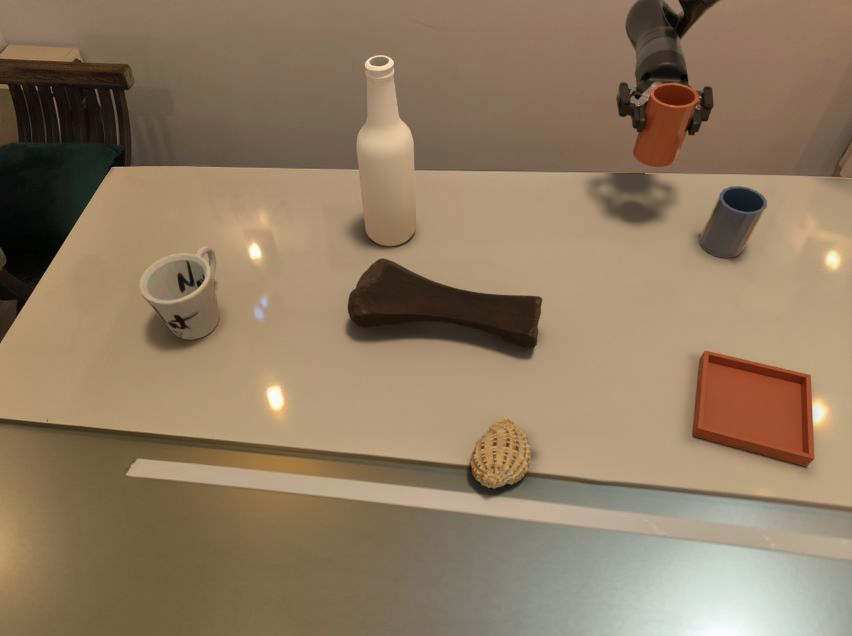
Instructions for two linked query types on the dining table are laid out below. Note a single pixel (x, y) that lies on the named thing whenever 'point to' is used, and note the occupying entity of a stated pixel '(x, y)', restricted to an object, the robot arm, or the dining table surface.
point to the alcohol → (386, 160)
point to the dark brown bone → (440, 304)
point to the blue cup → (732, 221)
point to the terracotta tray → (755, 408)
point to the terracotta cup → (665, 124)
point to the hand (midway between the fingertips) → (667, 128)
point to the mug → (183, 292)
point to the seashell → (501, 455)
